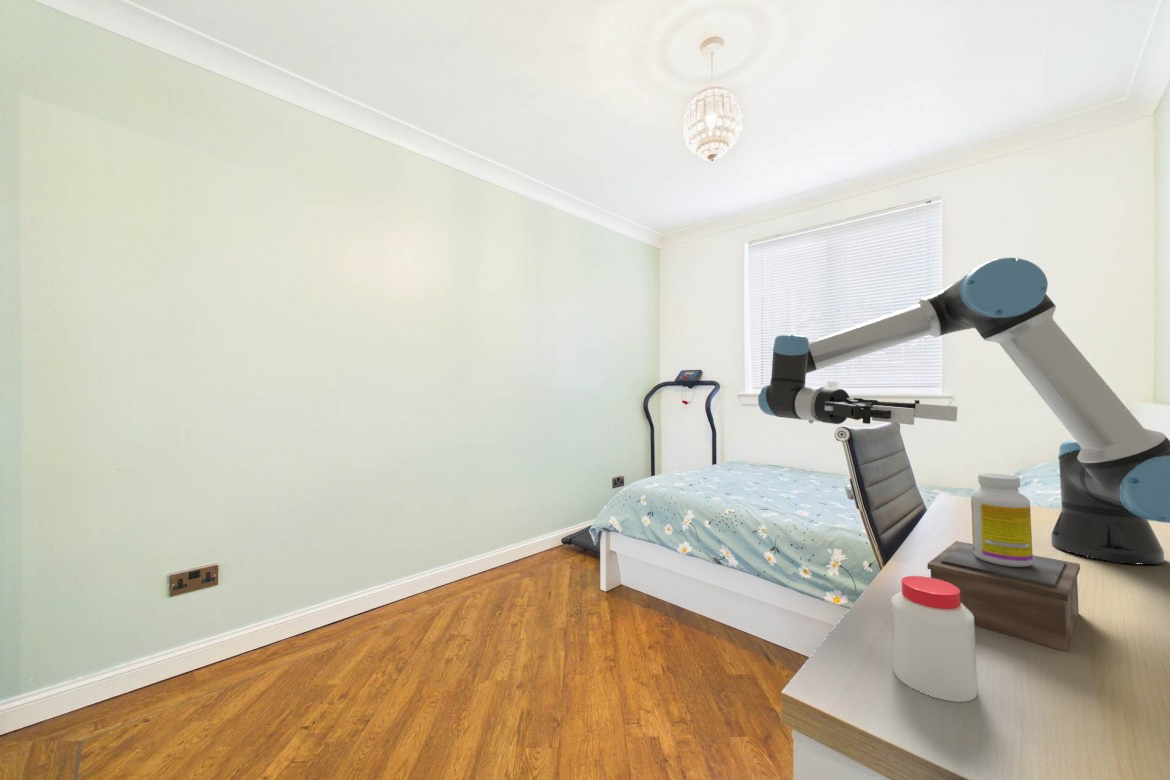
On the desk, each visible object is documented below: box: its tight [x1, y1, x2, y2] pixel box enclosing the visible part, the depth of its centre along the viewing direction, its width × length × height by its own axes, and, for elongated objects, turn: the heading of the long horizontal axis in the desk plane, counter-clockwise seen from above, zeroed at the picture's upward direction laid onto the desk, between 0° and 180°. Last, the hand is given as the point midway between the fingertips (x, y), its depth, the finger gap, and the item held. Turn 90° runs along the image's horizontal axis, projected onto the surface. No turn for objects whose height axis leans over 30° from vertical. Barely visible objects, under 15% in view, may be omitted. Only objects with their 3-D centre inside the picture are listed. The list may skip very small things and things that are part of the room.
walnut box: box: [927, 540, 1081, 653], centre depth 68 cm, size 17×15×8 cm
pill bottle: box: [890, 575, 978, 703], centre depth 52 cm, size 8×8×11 cm
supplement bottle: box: [970, 473, 1033, 567], centre depth 68 cm, size 7×7×13 cm
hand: (935, 415), depth 78 cm, fingers open, 13 cm apart
